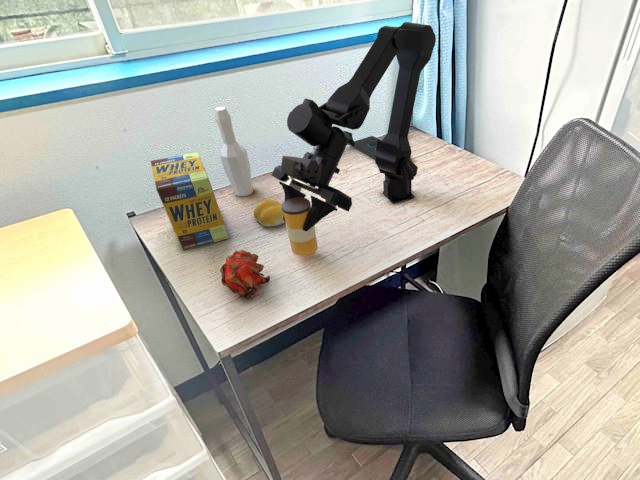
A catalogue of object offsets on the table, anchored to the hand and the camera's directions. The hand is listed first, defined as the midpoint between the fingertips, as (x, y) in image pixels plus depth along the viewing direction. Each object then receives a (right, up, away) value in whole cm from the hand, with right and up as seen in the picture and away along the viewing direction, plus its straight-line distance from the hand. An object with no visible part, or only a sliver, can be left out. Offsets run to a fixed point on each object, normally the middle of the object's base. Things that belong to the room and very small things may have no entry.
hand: (294, 225), depth 89 cm
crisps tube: (+1, -4, +5) cm, 7 cm away
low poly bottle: (-21, +14, +28) cm, 37 cm away
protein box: (-26, +2, +15) cm, 30 cm away
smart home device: (+16, +30, +45) cm, 56 cm away
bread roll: (-10, +5, +18) cm, 21 cm away
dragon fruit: (-9, -13, -2) cm, 16 cm away
